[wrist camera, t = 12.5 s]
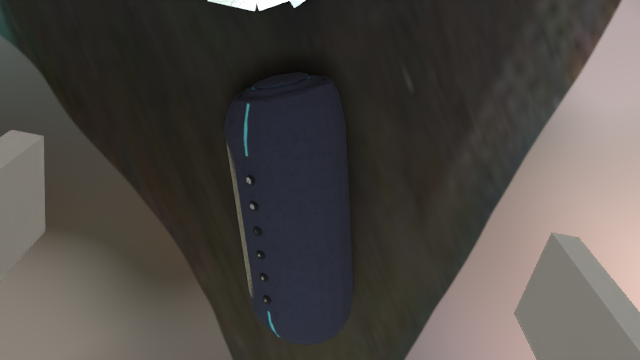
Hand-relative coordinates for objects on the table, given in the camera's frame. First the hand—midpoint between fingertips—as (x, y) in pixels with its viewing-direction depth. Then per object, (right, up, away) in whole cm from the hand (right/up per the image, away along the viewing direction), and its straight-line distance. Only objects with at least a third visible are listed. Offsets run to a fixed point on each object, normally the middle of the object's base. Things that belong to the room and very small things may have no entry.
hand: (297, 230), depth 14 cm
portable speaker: (-2, +1, +39) cm, 39 cm away
